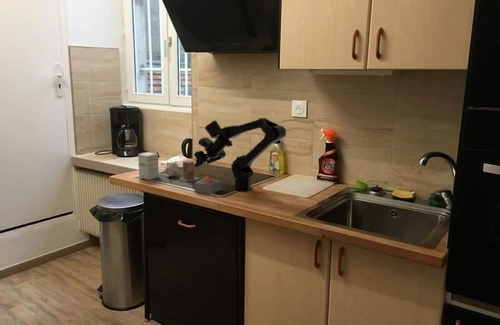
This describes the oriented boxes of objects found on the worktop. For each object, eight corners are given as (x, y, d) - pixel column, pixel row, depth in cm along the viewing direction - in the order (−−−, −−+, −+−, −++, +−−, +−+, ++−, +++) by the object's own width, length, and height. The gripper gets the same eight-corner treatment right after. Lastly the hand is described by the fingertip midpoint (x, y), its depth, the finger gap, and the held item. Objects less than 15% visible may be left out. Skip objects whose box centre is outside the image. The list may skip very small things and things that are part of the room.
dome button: (214, 189, 193) (214, 175, 191) (209, 191, 189) (209, 177, 187) (206, 188, 194) (205, 174, 193) (201, 190, 190) (201, 176, 189)
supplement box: (138, 177, 215) (137, 154, 212) (150, 175, 220) (148, 151, 218) (148, 180, 210) (147, 155, 208) (159, 177, 216) (158, 153, 213)
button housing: (221, 189, 194) (221, 180, 193) (211, 194, 186) (211, 184, 185) (204, 187, 197) (204, 178, 196) (194, 192, 189) (194, 182, 188)
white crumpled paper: (175, 183, 217) (179, 171, 210) (160, 178, 217) (163, 165, 210) (181, 172, 224) (184, 160, 217) (166, 166, 223) (169, 154, 216)
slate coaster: (202, 178, 214) (202, 177, 214) (192, 182, 205) (192, 182, 205) (185, 176, 218) (185, 175, 218) (175, 180, 209) (175, 180, 209)
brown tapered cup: (194, 178, 212) (194, 161, 210) (189, 180, 209) (188, 162, 207) (188, 177, 214) (187, 160, 212) (183, 179, 211) (182, 161, 209)
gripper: (220, 130, 207) (204, 149, 216) (196, 134, 192) (179, 155, 200) (233, 147, 205) (216, 166, 213) (210, 153, 190) (192, 173, 198)
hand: (201, 165), depth 206 cm, fingers open, 9 cm apart
